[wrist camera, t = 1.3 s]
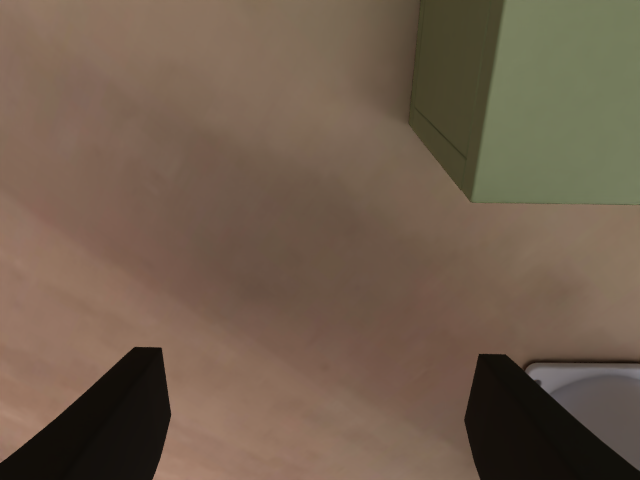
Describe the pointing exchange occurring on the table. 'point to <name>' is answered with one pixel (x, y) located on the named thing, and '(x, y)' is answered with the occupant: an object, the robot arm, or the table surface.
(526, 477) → the robot arm
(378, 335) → the table surface
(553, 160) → the cabinet
